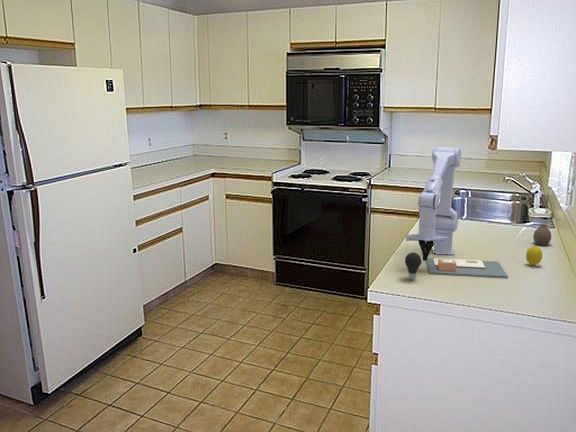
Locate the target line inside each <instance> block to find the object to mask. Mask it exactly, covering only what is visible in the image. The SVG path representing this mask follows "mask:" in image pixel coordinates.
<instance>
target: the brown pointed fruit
mask: <svg viewBox="0 0 576 432" xmlns="http://www.w3.org/2000/svg"><path fill="white" fill-rule="evenodd" d="M532 236H533V237H532V239H533V242H534V243H535V245H536V246H537V245H538V246H540V247H546V246H547V245H549V244H550V243H551V240H552V233H551V231H550V229H549V228H548V225H547V224H545V223H544V224H540V225H539V226H538V227H537V229H536V230H534V232H533V235H532Z"/></svg>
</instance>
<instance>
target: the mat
mask: <svg viewBox="0 0 576 432" xmlns="http://www.w3.org/2000/svg"><path fill="white" fill-rule="evenodd" d="M433 258H434V257H433ZM433 258H431V257H428V258H427V262H426V266H427V265H428V266H427V270H428V274H429V275H437V276H438V275H439V276H456V277H457V276H458V277H475V278H476V277H477V278H478V277H479V278H493V279H494V278H495V279H508V278H509V275H508V274H507V273H506V271H505V270H504V268H503V266H502V265H501V263H500V262H499V261H496V260H495V261H492V260H481V261H482V262H483V264H484V266H485V269H475V268H456V271H442V270H439V269H438V267H436V266H435V265H434V261H433Z"/></svg>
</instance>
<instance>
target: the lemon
mask: <svg viewBox="0 0 576 432" xmlns="http://www.w3.org/2000/svg"><path fill="white" fill-rule="evenodd" d="M525 254H526V255H525V259H526V261H527V262H528V263H529V264H530V265H531V266H532V267H533V266H534V267H535V266H536V265H538V264H540V263H541V262H542V259H543V250H542V249H541V248H540V247H538V246H537V245H534V246H530V247H529V248H528V249H527V251H526V253H525Z"/></svg>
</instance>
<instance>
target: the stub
mask: <svg viewBox="0 0 576 432" xmlns="http://www.w3.org/2000/svg"><path fill="white" fill-rule="evenodd" d="M446 259H447V258H441V259H438V269H439V270H442V271H456V264H457V263H456V261H455V260H446Z"/></svg>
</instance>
